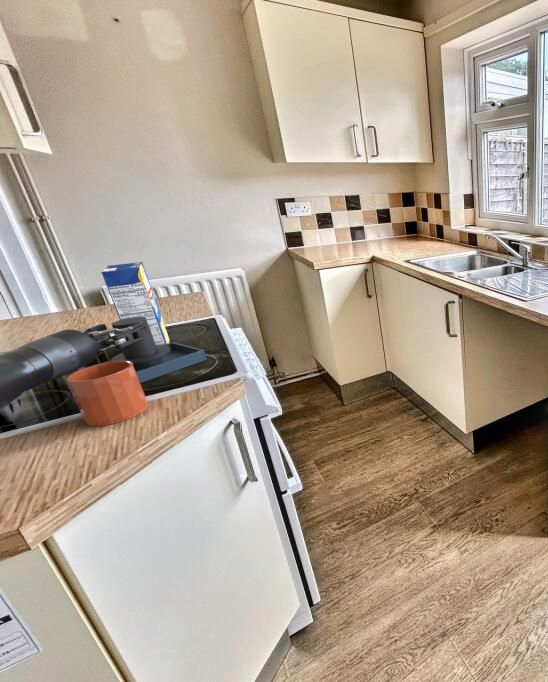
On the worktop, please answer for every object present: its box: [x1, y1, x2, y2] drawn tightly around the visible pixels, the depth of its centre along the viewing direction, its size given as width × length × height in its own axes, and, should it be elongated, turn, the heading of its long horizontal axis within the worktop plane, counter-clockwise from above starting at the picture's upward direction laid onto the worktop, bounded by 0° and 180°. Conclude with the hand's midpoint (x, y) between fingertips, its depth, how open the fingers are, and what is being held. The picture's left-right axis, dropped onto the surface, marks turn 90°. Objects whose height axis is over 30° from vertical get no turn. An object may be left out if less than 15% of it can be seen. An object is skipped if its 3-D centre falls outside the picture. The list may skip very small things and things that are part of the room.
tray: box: [76, 341, 208, 384], centre depth 99 cm, size 19×14×3 cm
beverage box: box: [100, 261, 171, 345], centre depth 108 cm, size 7×11×22 cm, turn 36°
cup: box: [65, 361, 149, 427], centre depth 79 cm, size 9×9×9 cm
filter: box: [110, 317, 170, 372], centre depth 97 cm, size 11×11×12 cm
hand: (124, 327), depth 94 cm, fingers open, 8 cm apart
